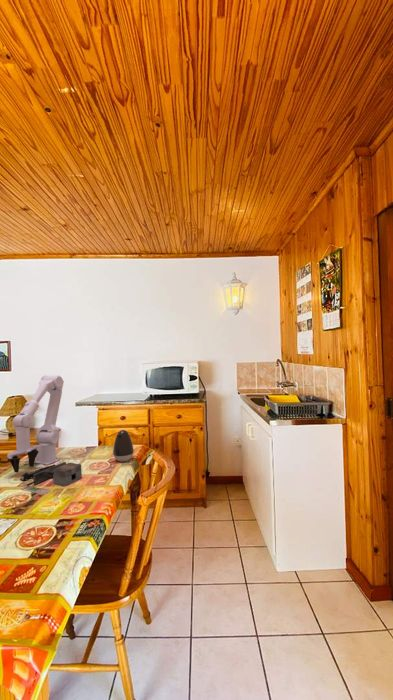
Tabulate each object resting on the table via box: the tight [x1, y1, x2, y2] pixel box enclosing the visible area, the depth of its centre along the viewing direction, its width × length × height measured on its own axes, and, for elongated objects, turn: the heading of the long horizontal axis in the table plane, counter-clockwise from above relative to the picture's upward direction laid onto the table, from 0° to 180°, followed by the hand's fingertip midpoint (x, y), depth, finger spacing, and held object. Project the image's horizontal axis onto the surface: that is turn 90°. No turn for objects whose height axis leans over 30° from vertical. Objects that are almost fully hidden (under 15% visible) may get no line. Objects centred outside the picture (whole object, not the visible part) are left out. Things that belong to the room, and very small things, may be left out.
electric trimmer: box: [19, 464, 56, 482], centre depth 145 cm, size 4×16×3 cm, turn 143°
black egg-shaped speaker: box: [112, 429, 135, 463], centre depth 162 cm, size 10×10×15 cm
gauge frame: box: [20, 462, 83, 496], centre depth 135 cm, size 15×18×6 cm
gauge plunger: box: [26, 461, 72, 486], centre depth 137 cm, size 12×20×4 cm, turn 155°
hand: (24, 469), depth 149 cm, fingers open, 7 cm apart
